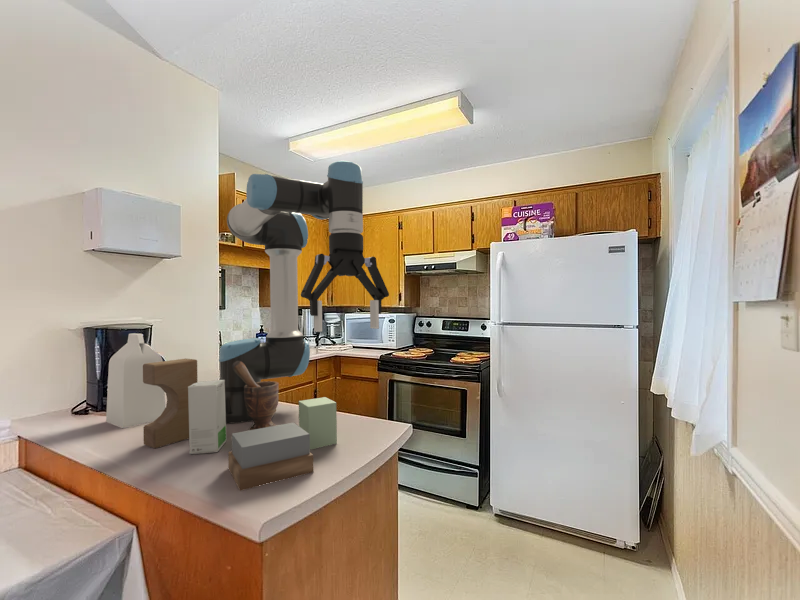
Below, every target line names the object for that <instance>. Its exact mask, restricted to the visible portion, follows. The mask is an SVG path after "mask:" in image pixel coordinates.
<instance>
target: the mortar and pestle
mask: <svg viewBox="0 0 800 600" xmlns="http://www.w3.org/2000/svg"><path fill="white" fill-rule="evenodd" d="M232 368H233V370H234V372H235V373H236V374H237V375H238V376H239V377H240V378H241V379H242V380H243V381H244V382H245V383H246V385H245V386H244V400H245V405H246V408H247V411H248V412H247V413H248V415H249V416H250V417H251V418H252V419H253V420H252V421H253V423H252V425H251V426H250V427H249V428H248V431H249V430H254V429H260V428H266V427H271V426H277V425H276V424H275V423H274V422H273V421H272V418H273V417H274V415H275V413H276V412H277V408H278V406H279V396H280V395H279V382H278V381H274V380H273V381H270V380H267V381H265V380H263V381H261V382H256V383H255V381H254V380H253V378H252V377H251V375H250V373H249V371H248V369H247V368H246V366H245V365H244V363H243V362H241V361H236V362H235V363H233V365H232Z"/></svg>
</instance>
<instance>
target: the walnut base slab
mask: <svg viewBox="0 0 800 600" xmlns="http://www.w3.org/2000/svg"><path fill="white" fill-rule="evenodd" d="M227 453H228V454H227V455H228V456H227V457H228V458H227V459H228V460H227V461H228V462H227V463H228V466H227V467H228V468H229V469H228V470H230V471H229V472H231V473H230V474H231V476H232V478H233V480H234V482H235V485H236V486H237V488H238V489H239V491H240V492H241V491H245V490H249V489H252V488H257V487H260V486H259V485H261V486H264V485H263V484H265V485H267V484H266V483H269V484H271V483H270V482H273V483H276V482H275V481H277V482H280V481H279V480H281V481H284V480H283V479H285V480H288V478H289V479H292V477H293V478H296V476H297V477H300V476H304V474H305V475H308V474H312V473H314V454H313V453H311V452H310V454H307V455H303V456H298V457H294V458H289V459H285V460H281V461H276V462H272V463H268V464H263V465H259V466H254V467H250V468H246V469H242V468H241V466H240V465H239V463H238V462H237V460H236V458H235V457H234V455H233V454H232V450H231V451H228V452H227Z"/></svg>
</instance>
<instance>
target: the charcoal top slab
mask: <svg viewBox="0 0 800 600" xmlns="http://www.w3.org/2000/svg"><path fill="white" fill-rule="evenodd" d="M231 451H232V454H233V455H234V457H235V458H236V460H237V462H238V463H239V465H240V466H241V468H242V469H246V468H250V467H254V466H259V465H263V464H268V463H272V462H276V461H281V460H285V459H289V458H294V457H298V456H303V455H307V454H310V453H311V450H310V434H309V433H307V432H306V431H305V430H303V429H302V428H301V427H299V424H296V423H295V422H289V423H282V424H278V425H276V426H271V427H266V428H260V429H254V430H249V429H248V430H243V431H239V432H233V433H231Z"/></svg>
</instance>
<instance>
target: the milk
mask: <svg viewBox="0 0 800 600" xmlns="http://www.w3.org/2000/svg"><path fill="white" fill-rule="evenodd" d="M162 361H163V358H162V356H161V355H160V354H159V353H158V352H157V351H155V350H154V349H153V348H152V346H150V345H149V344H148V343H145V340H144V336H143V333H128V337H127V342H126V344H124V345H123V346H122V347H121V348H119V349H118V351H116V352H115V353H114V354H113V355H112V356H111V357H110V359H109V362H108V370H107V371H108V373H107V374H108V376H107V396H106V397H107V398H106V412H105V413H106V414H105V415H106V416H105V417H106V418H105V422H106V423H108V424H110V425H113V426H115V427H118V428H121V429H126V428H131V427H135V425H136V426H139V424H140V425H143V424H149V423H151V422H154V421H155V420H156V419H157V418H158V417H159V416H160V415H161V414H162V412H163V411H164V409H165V408H166V393H165V392H164V391H163V389H162V388H161V387H159V386H157V385H150V384H145V383H143V365H144V364H146V363H154V362H162Z"/></svg>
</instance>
